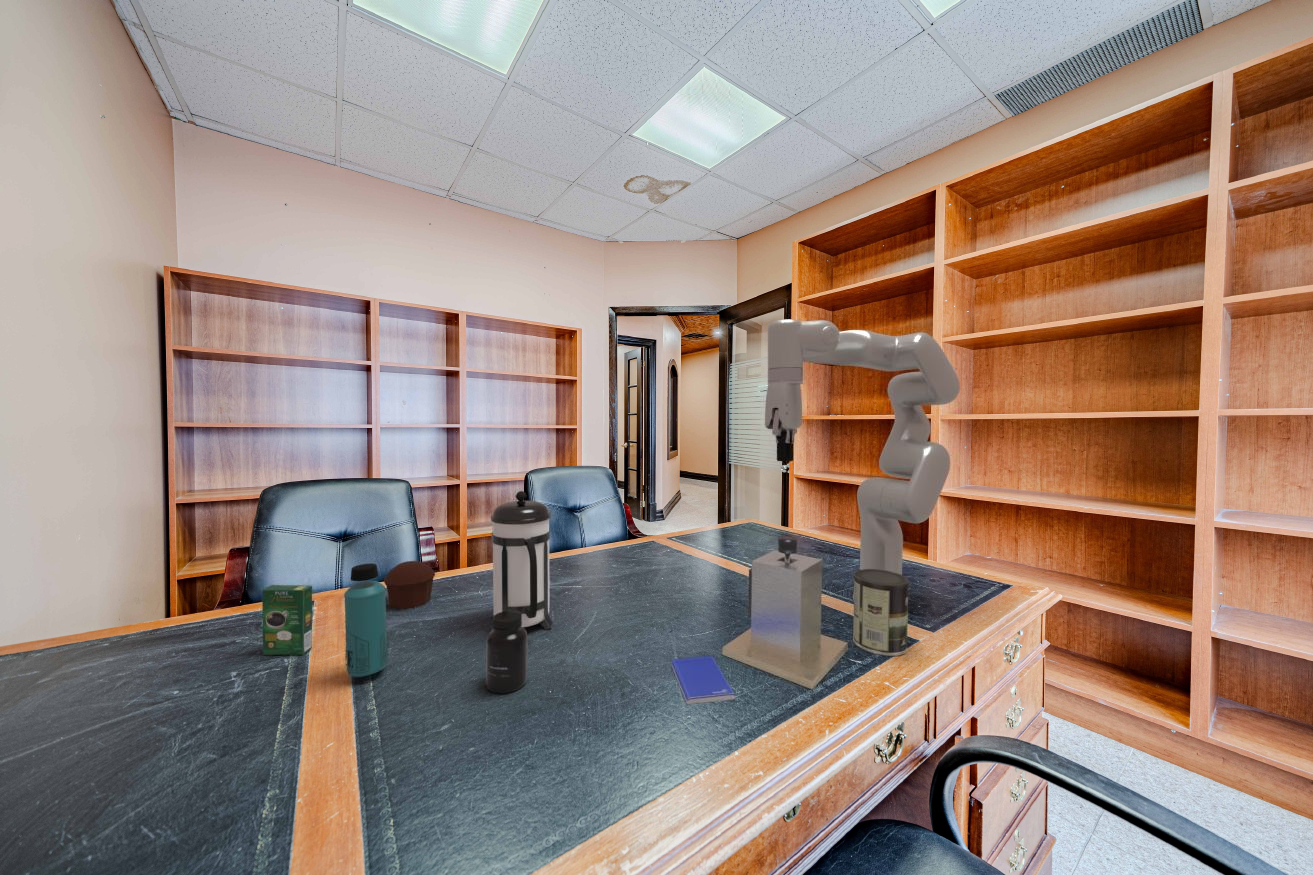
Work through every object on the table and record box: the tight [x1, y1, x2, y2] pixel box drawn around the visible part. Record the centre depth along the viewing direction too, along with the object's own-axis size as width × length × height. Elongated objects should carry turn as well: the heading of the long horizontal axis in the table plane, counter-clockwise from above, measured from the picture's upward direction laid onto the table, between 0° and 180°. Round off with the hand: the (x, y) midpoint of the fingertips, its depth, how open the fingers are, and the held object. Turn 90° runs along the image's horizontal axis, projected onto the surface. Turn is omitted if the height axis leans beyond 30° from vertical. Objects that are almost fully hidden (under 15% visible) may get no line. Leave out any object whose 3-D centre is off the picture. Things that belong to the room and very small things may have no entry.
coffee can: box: [852, 569, 910, 657], centre depth 96 cm, size 10×10×14 cm
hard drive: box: [670, 656, 736, 705], centre depth 83 cm, size 2×8×12 cm
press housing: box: [722, 549, 849, 690], centre depth 92 cm, size 18×18×18 cm
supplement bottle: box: [485, 611, 528, 695], centre depth 81 cm, size 7×7×12 cm
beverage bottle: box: [343, 563, 389, 678], centre depth 83 cm, size 6×7×20 cm
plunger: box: [777, 536, 798, 563], centre depth 92 cm, size 7×7×16 cm
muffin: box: [383, 560, 436, 610], centre depth 117 cm, size 12×11×10 cm
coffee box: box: [261, 584, 313, 656], centre depth 92 cm, size 8×3×13 cm, turn 92°
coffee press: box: [490, 490, 554, 631], centre depth 103 cm, size 17×16×30 cm
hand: (785, 460), depth 104 cm, fingers closed
